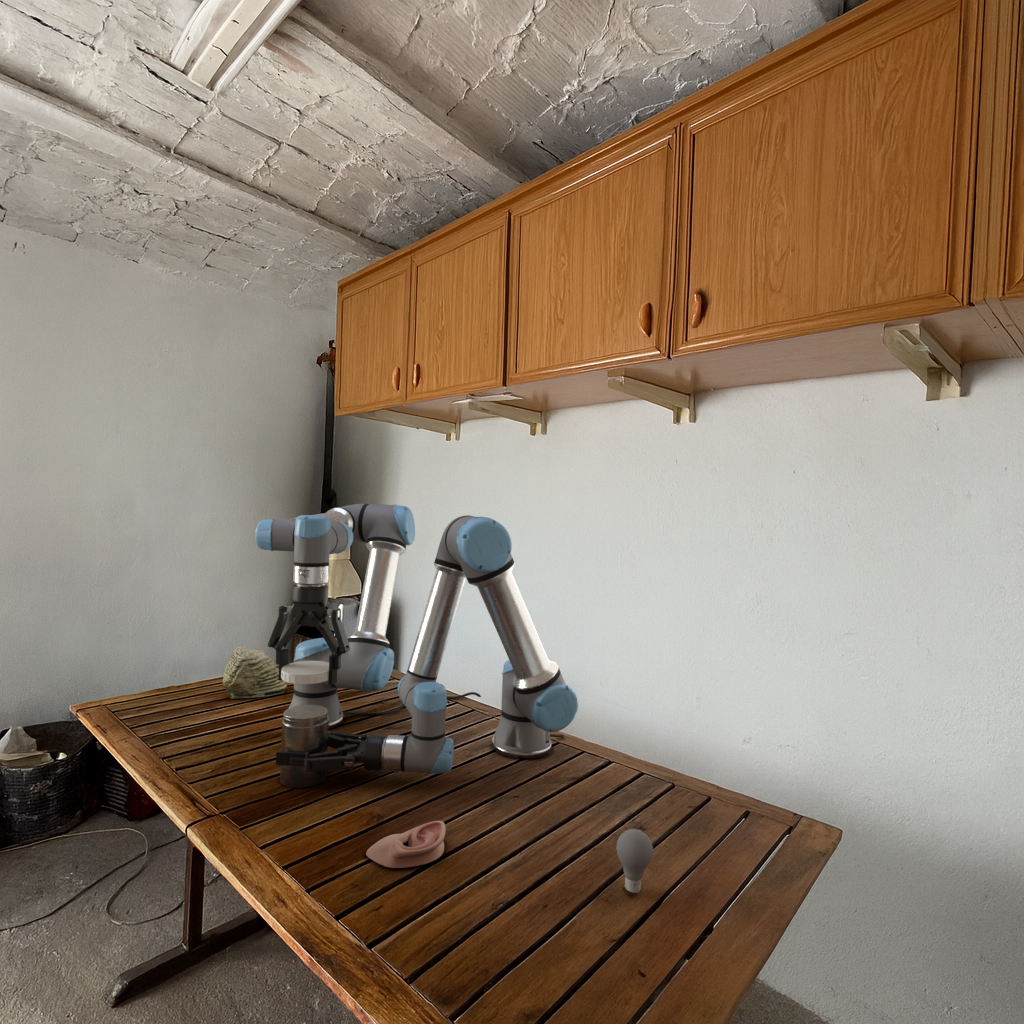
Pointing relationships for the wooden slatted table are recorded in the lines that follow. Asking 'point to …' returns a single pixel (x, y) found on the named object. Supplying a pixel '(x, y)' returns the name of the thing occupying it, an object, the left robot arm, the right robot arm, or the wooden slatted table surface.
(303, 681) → the lid
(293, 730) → the jar
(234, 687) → the fossil
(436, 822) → the anatomical model
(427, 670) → the right robot arm
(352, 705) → the wooden slatted table surface
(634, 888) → the light bulb
